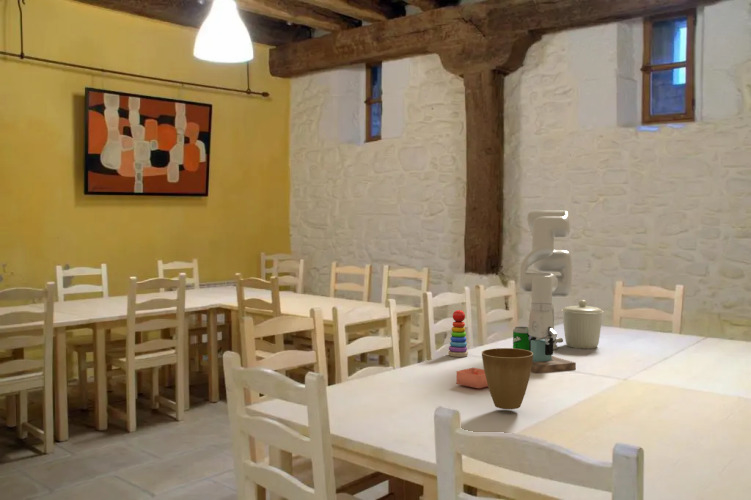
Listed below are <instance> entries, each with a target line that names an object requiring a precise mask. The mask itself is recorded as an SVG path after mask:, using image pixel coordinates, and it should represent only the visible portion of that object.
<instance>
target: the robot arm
mask: <svg viewBox="0 0 751 500" xmlns="http://www.w3.org/2000/svg"><path fill="white" fill-rule="evenodd" d="M526 218H527V219H526V220H527V226H528V228H529V230H530V232H531V235H532V243H531V245H532V247H531V251H529V253H527V255H525V256H524V258H523V259H522V261H521V264H520V266H519V288H520V289H521V291H522V292H525V293H530V296H531V297H530V298H531V300H530V301H531V302H530V303H531V307H530V309H531V310H530V311H529V315H528V325H527V326H526V327H527V328H526V330H527V335H528V337H529V338H528V339H529V350H530V351H531V340H541V339H545V342H546V344H545V355H552V356H553V355H554V350H557V349H558V348H559V347H558V343H559V344H560V343H563V342H564V339H563V338H562V337H558V338H557V335H558V333H557V332H556V331H555V306H554V304H553V298H569V297H570V296H571V294H572V290H573V283H572V282H573V259H572V258H573V257H572V254H571V253H570V251H568V250H565V249H555V238H567V237H568V236H569V235H570V232H571V216H570V213H569V212H568V211H567V210H565V209H564V210H561V209H560V210H556V209H555V210H553V209H552V210H551V209H549V210H548V209H547V210H546V209H544V210H543V209H542V210H539V209H538V210H531V211H529V212H528V213H527V217H526ZM532 265H533V267H534V269H535V270H536V271H538V272H528V269H529V268H530V267H531V266H532ZM553 273H560V274H561V275H559V274H553ZM548 340H549V341H548Z"/></svg>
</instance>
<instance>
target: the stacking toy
mask: <svg viewBox="0 0 751 500" xmlns="http://www.w3.org/2000/svg"><path fill="white" fill-rule="evenodd" d="M465 318H466V313H465V312H464V311H463V310H461V309H457V310H455V311H454V312H453V313H452V319H453V320H454V321H453V322H452V327H451V332H450V334H451V336H450V337H449V338H450V342H449V347H448V356H450V357H453V358H464V357H465V358H466V357H467V356H468V354H469V353H468V347H467V346H468V343H467V337H466V336H467V333H466V327H465V326H466V323H465V322H464V321H465Z"/></svg>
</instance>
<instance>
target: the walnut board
mask: <svg viewBox="0 0 751 500" xmlns="http://www.w3.org/2000/svg"><path fill="white" fill-rule="evenodd" d="M576 366H577V363H576V362H575V361H572V360H567V359H563V358H559V357H556V356H553V355H552V358H551V361H542V362H534V361H532V367H531V372H530V373H534V374H541V373H552V372H563V371H572V370H576V369H577V368H576Z"/></svg>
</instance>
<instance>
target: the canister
mask: <svg viewBox="0 0 751 500" xmlns="http://www.w3.org/2000/svg"><path fill="white" fill-rule="evenodd" d="M587 303H588V302H587V300H585V299H580V300H579V301H577V304H578V305H567V306H565V307H564V308H562V309H561V310H560V311H561V312H562V319H563V332H564V338H565V339H564V340H565V343H566V346H567V347H569V348H572V347H573V348H572V349H579V348H583V349H582V350H590V349H589V348H592V349H596V348H597V347H598V346H599V342H600V337H601V330H602V329H601V328H602V322H603V314H604V313H605V311H604V310H602V309H601V308H600V307H596V306H590V305H589V306H588V305H587ZM585 348H587V349H585Z"/></svg>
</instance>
